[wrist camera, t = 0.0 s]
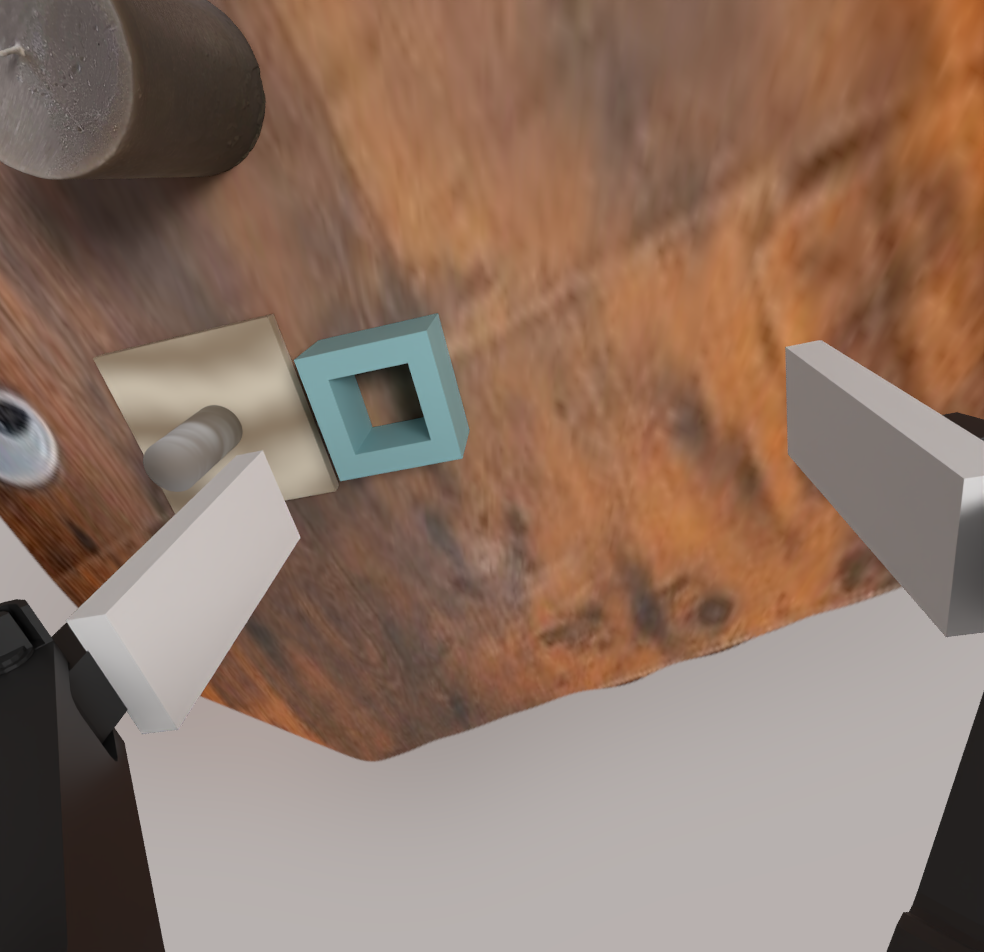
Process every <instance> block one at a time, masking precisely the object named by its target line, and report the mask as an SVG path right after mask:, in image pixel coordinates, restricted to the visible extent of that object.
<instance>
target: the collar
mask: <svg viewBox="0 0 984 952" xmlns="http://www.w3.org/2000/svg"><path fill="white" fill-rule="evenodd" d="M294 362H295V364H296V367H297V370H298V372H299V375H300V378H301V380H302V383H303V385H304V388H305V391H306V393H307V396H308V398H309V401H310V404H311V406H312V409H313V412H314V414H315V417H316V419H317V422H318V425H319V427H320V430H321V432H322V435H323V438H324V440H325V443H326V445H327V448H328V451H329V453H330V456H331V459H332V461H333V464H334V466H335V469H336V472H337V474H338V477H339V479H340V481H344V480H350V479H355V478H360V477H366V476H371V475H376V474H382V473H387V472H392V471H398V470H403V469H409V468H414V467H419V466H425V465H430V464H435V463H441V462H446V461H451V460H457V459H462V458H463V454H464V450H465V446H466V442H467V438H468V434H469V427H468V423H467V419H466V416H465V412H464V408H463V404H462V401H461V397H460V393H459V390H458V386H457V382H456V378H455V375H454V371H453V367H452V363H451V360H450V356H449V352H448V349H447V345H446V341H445V337H444V334H443V330H442V326H441V323H440V319H439V315H438V313H437V314H432V315H428V316H424V317H419V318H415V319H410V320H406V321H402V322H397V323H393V324H388V325H384V326H380V327H375V328H371V329H366V330H362V331H358V332H353V333H349V334H344V335H340V336H336V337H331V338H327V339H322V340H318V341H317V342H316V343H315V344H313V345H312V346H311V347H310V348H308V349H307V350H306V351H305V352H303V353H302V354H301V355H300V356H298V357H297V358H296V359H295V360H294ZM405 363H408V365H409V368H410V372H411V375H412V378H413V382H414V385H415V388H416V392H417V395H418V398H419V402H420V405H421V408H422V412H423V415H424V417H422V418H417V419H412V420H407V421H402V422H397V423H392V424H387V425H382V426H377V427H372V425H371V422H370V419H369V416H368V413H367V410H366V407H365V404H364V401H363V398H362V395H361V392H360V389H359V387H358V384H357V381H356V378H355V375H354V374H359V373H364V372H368V371H373V370H378V369H382V368H387V367H391V366H396V365H401V364H405Z"/></svg>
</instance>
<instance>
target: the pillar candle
mask: <svg viewBox="0 0 984 952" xmlns="http://www.w3.org/2000/svg"><path fill="white" fill-rule="evenodd" d="M265 103H266V100H265V94H264V91H263V85H262V81H261V78H260V69H259V65H258V63H257V60H256V58H255V56H254V54H253V51H252V49H251V47H250V46H249V44H248V42H247V40H246V39H245V37H244V36H243V34H242V33H241V31H240V30H239V29H238V27H237V26H236V25H235V24H234V23H233V22H232V21H231V19H230V18H229V17H228V16H227V15H226V14H224V13H223V12H222V11H221V10H219V9H218V8H217V7H215V6H214V5H213V4H211V3H210V2H209V1H207V0H0V161H1V162H2V163H4V164H5V165H7V166H9V167H11V168H14V169H16V170H18V171H21V172H23V173H26V174H29V175H32V176H36V177H40V178H44V179H51V180H52V179H56V180H60V179H61V180H65V179H119V178H126V179H132V178H153V177H158V178H159V177H161V178H163V177H164V178H167V177H203V176H212V175H216V174H219V173H221V172H224V171H227V170H229V169H231V168H233V166H236V165H238V164H239V163H240V162H241V161H242V160H243V159H244V158H245V157H247V155H248V153H249V151H251V149H252V148H253V147H254V145H255V143H256V141H257V139H258V137H259V135H260V131H261V127H262V122H263V119H264V114H265Z"/></svg>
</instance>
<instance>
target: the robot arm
mask: <svg viewBox="0 0 984 952" xmlns="http://www.w3.org/2000/svg"><path fill="white" fill-rule="evenodd" d="M785 348H786V390H787V432H788V455H789V456H790V457H791V458H792V459H793V461H794V462H795V463H796V464H797V465H798V466H799V468H800V469H801V470H802V471H803V472H804V473H805V474H806V476H807V477H808V478H809V479H810V480H811V481H812V483H813V484H814V485H815V486H816V487H817V488H818V490H819V491H820V492H821V493H822V494H823V495H824V496H825V498H826V499H827V500H828V501H829V502H830V503H831V505H832V506H833V507H834V508H835V509H836V510H837V511H838V513H839V514H840V515H841V516H842V517H843V518H844V520H845V521H846V522H847V523H848V524H849V525H850V527H851V528H852V529H853V530H854V531H855V532H856V533H857V535H858V536H859V537H860V538H861V539H862V540H863V542H864V543H865V544H866V545H867V546H868V547H869V549H870V550H871V551H872V552H873V553H874V554H875V555H876V557H877V558H878V559H879V560H880V561H881V562H882V564H883V565H884V566H885V567H886V568H887V569H888V571H889V572H890V573H891V574H892V575H893V576H894V577H895V579H896V580H897V581H898V582H899V583H900V584H901V586H902V587H903V588H904V589H905V590H906V591H907V593H908V594H909V595H910V596H911V597H912V598H913V599H914V601H915V602H916V603H917V604H918V605H919V606H920V607H921V609H922V610H923V611H924V612H925V613H926V614H927V616H928V617H929V618H930V619H931V620H932V621H933V623H934V624H935V625H936V626H937V627H938V628H939V629H940V631H941V632H942V633H943V634H944V635H945V636H946V637H950V636H958V635H966V634H974V633H983V632H984V420H983V419H980V418H976V417H972V416H969V415H965V414H961V413H958V412H956V413H951V414H945V415H941V414H939V413H938V412H936V411H934V410H933V409H931V408H929V407H928V406H926V405H925V404H923V403H921V402H920V401H918V400H917V399H915V398H913V397H912V396H910V395H908V394H907V393H905V392H904V391H902V390H900V389H899V388H897V387H896V386H894V385H892V384H891V383H889V382H888V381H886V380H884V379H883V378H881V377H879V376H878V375H876V374H875V373H873V372H871V371H870V370H868V369H867V368H865V367H863V366H862V365H860V364H859V363H857V362H855V361H854V360H852V359H850V358H849V357H847V356H846V355H844V354H842V353H841V352H839V351H838V350H836V349H834V348H833V347H831V346H830V345H828V344H826V343H825V342H823V341H821V340H819V341H814V342H809V343H804V344H799V345H793V346H788V347H785ZM299 539H300V535H299V533H298V531H297V528H296V526H295V524H294V521H293V519H292V517H291V514H290V512H289V510H288V507H287V505H286V503H285V500H284V498H283V496H282V494H281V491H280V489H279V487H278V484H277V482H276V480H275V477H274V475H273V473H272V470H271V468H270V466H269V463H268V461H267V459H266V456H265V454H264V452H263V450H261V451H256V452H251V453H246V454H241V455H236V456H235V457H234V458H233V459H232V460H231V461H230V462H229V463H228V464H227V465H226V466H225V467H224V468H223V469H222V470H221V471H220V472H219V473H218V474H217V475H216V476H215V477H214V478H213V479H212V480H211V481H210V482H209V483H207V484H206V485H205V486H204V487H203V488H202V489H201V490H200V491H199V492H198V493H197V494H196V495H195V496H194V497H193V498H192V499H191V500H190V501H189V502H188V503H187V504H186V505H185V506H184V507H183V508H182V509H181V510H180V511H179V512H177V513H176V514H175V515H174V516H173V517H172V518H171V519H170V520H169V521H168V522H167V523H166V524H165V525H164V526H163V527H162V528H161V529H160V530H159V531H158V532H157V533H156V534H155V535H154V536H153V537H152V538H151V539H150V540H149V541H147V542H146V543H145V544H144V545H143V546H142V547H141V548H140V549H139V550H138V551H137V552H136V553H135V554H134V555H133V556H132V557H131V558H130V559H129V560H128V561H127V562H126V563H125V564H124V565H123V566H122V567H121V568H120V569H119V570H118V571H116V572H115V573H114V574H113V575H112V576H111V577H110V578H109V579H108V580H107V581H106V582H105V583H104V584H103V585H102V586H101V587H100V588H99V589H98V590H97V591H96V592H95V593H94V594H93V595H92V596H91V597H90V598H89V599H88V600H86V601H85V602H84V603H83V604H82V605H81V606H80V607H79V608H78V609H77V610H76V611H75V612H74V613H73V614H72V615H71V616H70V617H69V618H68V619H67V620H66V622H67V623H66V624H65V625H63V626H62V627H61V629H60V630H58V631H57V632H56V633H55V634H54V635H53V636H52V637H51V636H50V635H49V633H48V632H47V630H46V629H45V628H44V626H43V625H42V623H41V622H40V620H39V619H38V618H37V616H36V615H35V613H34V612H33V610H32V609H31V608H30V606H29V605H28V603H27V602H26V601H25V600H18V599H16V600H12V601H8V602H3V603H0V952H165V949H164V944H163V939H162V934H161V929H160V923H159V918H158V913H157V908H156V903H155V898H154V893H153V887H152V882H151V877H150V872H149V867H148V862H147V856H146V852H145V846H144V841H143V836H142V831H141V825H140V820H139V815H138V810H137V805H136V800H135V795H134V790H133V784H132V779H131V774H130V769H129V764H128V759H127V753H126V749H125V743H124V741H123V740H122V738H121V737H120V735H119V734H118V732H117V731H116V730H115V728H114V727H115V726H116V725H117V723H118V722H119V721H120V719H121V718H122V717H123V715H124V714H125V713H126V711H127V712H128V714H129V715H130V717H131V718H132V720H133V721H134V723H135V724H136V726H137V727H138V729H139V730H140V732H141V733H142V734H147V733H155V732H164V731H172V730H178V729H179V728H180V726H181V725H182V723H183V722H184V720H185V718H186V717H187V715H188V714H189V712H190V711H191V709H192V707H193V706H194V704H195V703H196V701H197V700H198V698H199V696H200V695H201V693H202V692H203V690H204V689H205V687H206V685H207V684H208V682H209V681H210V679H211V678H212V676H213V674H214V673H215V671H216V670H217V668H218V667H219V665H220V663H221V662H222V660H223V659H224V657H225V656H226V654H227V652H228V651H229V649H230V648H231V646H232V644H233V643H234V641H235V640H236V638H237V637H238V635H239V633H240V632H241V630H242V629H243V627H244V626H245V624H246V622H247V621H248V619H249V618H250V616H251V615H252V613H253V611H254V610H255V608H256V607H257V605H258V604H259V602H260V600H261V599H262V597H263V596H264V594H265V593H266V591H267V589H268V588H269V586H270V585H271V583H272V582H273V580H274V578H275V577H276V575H277V574H278V572H279V571H280V569H281V567H282V566H283V564H284V563H285V561H286V559H287V558H288V556H289V555H290V553H291V552H292V550H293V548H294V547H295V545H296V544H297V542H298V541H299ZM887 952H984V692H983V696H982V699H981V702H980V705H979V708H978V711H977V714H976V717H975V720H974V723H973V726H972V729H971V732H970V735H969V738H968V741H967V744H966V747H965V750H964V753H963V756H962V759H961V762H960V765H959V768H958V771H957V774H956V777H955V780H954V783H953V786H952V789H951V792H950V795H949V798H948V801H947V804H946V807H945V810H944V813H943V817H942V819H941V822H940V825H939V828H938V831H937V835H936V837H935V840H934V843H933V847H932V849H931V852H930V855H929V858H928V861H927V864H926V867H925V870H924V873H923V877H922V880H921V882H920V886H919V889H918V891H917V894H916V897H915V900H914V902H913V905H912V907H911V909H910V911H909V912H903V914H902V916H901V918H900V920H899V922H898V924H897V926H896V928H895V931H894V934H893V936H892V939H891V942H890V944H889V947H888V949H887Z"/></svg>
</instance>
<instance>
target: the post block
mask: <svg viewBox="0 0 984 952" xmlns="http://www.w3.org/2000/svg"><path fill="white" fill-rule="evenodd" d="M93 359H94V361H95V363H96V365H97V367H98V369H99V371H100V373H101V374H102V376H103V378H104V380H105V382H106V384H107V386H108V388H109V390H110V392H111V393H112V395H113V397H114V399H115V401H116V403H117V405H118V407H119V409H120V410H121V412H122V414H123V416H124V418H125V420H126V422H127V424H128V426H129V428H130V429H131V431H132V433H133V435H134V437H135V439H136V441H137V443H138V445H139V447H140V448H141V450H142V452H143V454H144V457H143V464H144V468H145V471H146V473H147V475H148V476H149V477H150V479H151V480H152V481H153V482H154V483H156V484H157V485H158V486H160V487H161V488H162V490H163V492H164V494H165V496H166V498H167V500H168V502H169V503H170V505H171V507H172V509H173V511H174V513H175V514H176V513H177V512H179V511H180V510H181V509H182V508H183V507H184V506H185V505H186V504H187V503H188V502H189V501H190V500H191V499H192V498H193V497H194V496H195V495H196V494H197V493H198V492H199V491H200V490H201V489H202V488H203V487H204V486H205V485H206V484H207V483H209V482H210V481H211V480H212V479H213V478H214V477H215V476H216V475H217V474H218V473H219V472H220V471H221V470H222V469H223V468H224V467H225V466H226V465H227V464H228V463H229V462H230V461H231V460H232V459H233V458H234V457H235V456H236V455H241V454H246V453H251V452H256V451H261V450H263V452H264V454H265V456H266V459H267V461H268V463H269V466H270V468H271V470H272V473H273V475H274V477H275V480H276V482H277V484H278V487H279V489H280V491H281V494H282V496H283V498H284V500H290V499H296V498H301V497H307V496H312V495H317V494H323V493H328V492H334V491H336V490H337V488H338V487H339V483H338V481H337V478H336V475H335V473H334V470H333V468H332V465H331V462H330V460H329V457H328V455H327V452H326V449H325V447H324V444H323V442H322V439H321V436H320V434H319V431H318V429H317V426H316V423H315V421H314V418H313V416H312V413H311V410H310V408H309V405H308V403H307V400H306V397H305V395H304V392H303V390H302V387H301V384H300V382H299V379H298V377H297V374H296V371H295V369H294V366H293V364H292V361H291V358H290V356H289V353H288V351H287V348H286V345H285V343H284V340H283V338H282V335H281V332H280V330H279V327H278V325H277V322H276V319H275V317H274V314H270V315H266V316H262V317H257V318H253V319H249V320H245V321H241V322H236V323H232V324H228V325H224V326H220V327H215V328H211V329H207V330H203V331H199V332H194V333H190V334H186V335H182V336H178V337H173V338H169V339H165V340H161V341H157V342H152V343H148V344H144V345H140V346H136V347H131V348H127V349H123V350H119V351H114V352H110V353H106V354H102V355H99V356H97V357H95V358H93Z"/></svg>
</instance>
